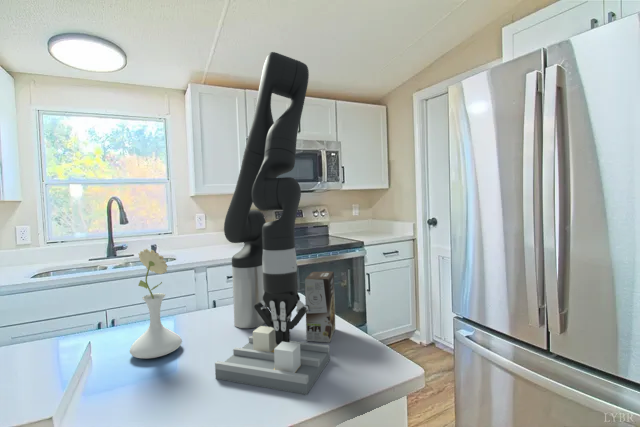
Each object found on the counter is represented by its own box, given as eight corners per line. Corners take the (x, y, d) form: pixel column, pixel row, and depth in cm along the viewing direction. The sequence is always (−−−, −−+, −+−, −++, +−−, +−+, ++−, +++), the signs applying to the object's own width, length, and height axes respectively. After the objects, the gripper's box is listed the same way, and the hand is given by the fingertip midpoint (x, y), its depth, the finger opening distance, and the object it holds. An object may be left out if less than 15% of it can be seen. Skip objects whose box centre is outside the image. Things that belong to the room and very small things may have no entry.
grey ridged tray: (215, 378, 68) (214, 363, 68) (251, 348, 82) (250, 335, 82) (306, 394, 62) (306, 377, 62) (329, 359, 75) (329, 345, 75)
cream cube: (253, 351, 75) (252, 331, 75) (261, 344, 78) (260, 325, 78) (269, 353, 74) (268, 333, 74) (276, 346, 77) (276, 327, 77)
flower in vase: (190, 350, 82) (185, 248, 80) (140, 369, 73) (134, 255, 72) (167, 336, 90) (163, 244, 89) (120, 351, 82) (115, 250, 81)
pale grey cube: (274, 370, 66) (274, 349, 66) (282, 362, 69) (282, 341, 69) (293, 373, 65) (292, 351, 65) (300, 365, 68) (299, 343, 68)
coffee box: (330, 343, 84) (329, 279, 83) (305, 341, 85) (303, 278, 84) (336, 328, 93) (334, 270, 92) (313, 327, 94) (311, 270, 93)
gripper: (244, 271, 73) (248, 349, 73) (301, 273, 68) (304, 357, 69) (261, 264, 80) (264, 336, 80) (313, 266, 75) (316, 342, 76)
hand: (283, 345), depth 75 cm, fingers closed
